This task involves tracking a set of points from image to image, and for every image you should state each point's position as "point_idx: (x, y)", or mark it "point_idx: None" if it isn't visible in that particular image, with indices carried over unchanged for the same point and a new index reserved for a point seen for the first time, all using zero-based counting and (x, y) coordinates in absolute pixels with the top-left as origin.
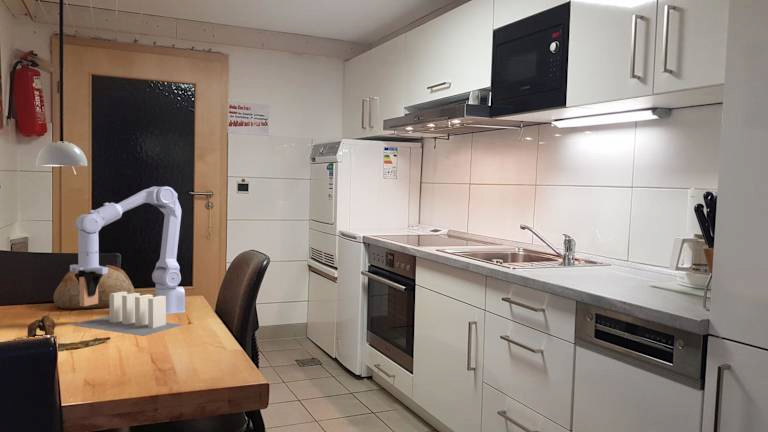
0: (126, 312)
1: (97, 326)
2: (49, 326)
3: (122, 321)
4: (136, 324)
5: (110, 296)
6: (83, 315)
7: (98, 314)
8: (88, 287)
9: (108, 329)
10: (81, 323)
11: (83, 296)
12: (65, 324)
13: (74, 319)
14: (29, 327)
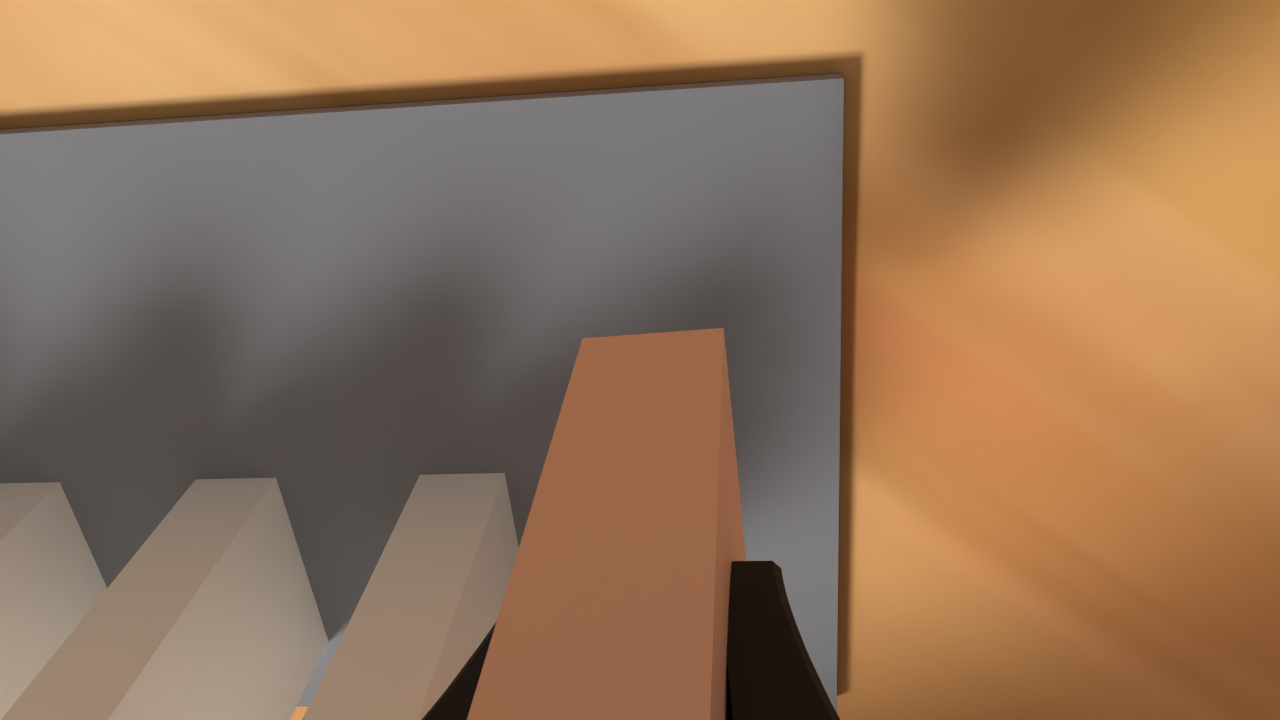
0: (113, 587)
1: (362, 225)
2: None
3: (256, 496)
4: (24, 491)
5: None
6: (1266, 601)
7: (1109, 704)
8: (446, 711)
9: (51, 179)
10: (754, 235)
11: (577, 460)
12: (1016, 118)
13: (1180, 399)
14: None
